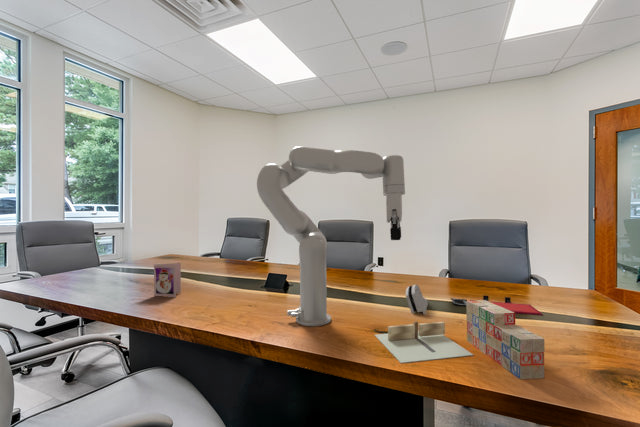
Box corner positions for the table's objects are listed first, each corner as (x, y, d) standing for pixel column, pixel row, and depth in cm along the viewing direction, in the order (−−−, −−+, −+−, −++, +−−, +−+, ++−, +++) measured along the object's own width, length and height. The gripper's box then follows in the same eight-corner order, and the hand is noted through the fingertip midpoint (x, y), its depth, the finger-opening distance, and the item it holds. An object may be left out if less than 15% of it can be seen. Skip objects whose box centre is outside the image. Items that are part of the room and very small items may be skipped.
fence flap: (420, 336, 90) (420, 324, 90) (418, 335, 91) (418, 323, 91) (444, 334, 91) (444, 322, 91) (443, 333, 92) (443, 321, 92)
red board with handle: (449, 299, 133) (455, 310, 118) (449, 292, 133) (455, 303, 118) (526, 305, 125) (542, 317, 110) (526, 298, 125) (542, 310, 110)
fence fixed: (389, 342, 88) (389, 325, 88) (387, 340, 89) (387, 323, 89) (418, 339, 90) (418, 322, 90) (416, 337, 91) (416, 321, 91)
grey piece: (425, 315, 111) (415, 289, 113) (412, 317, 113) (403, 292, 115) (428, 303, 127) (419, 280, 128) (417, 305, 128) (409, 283, 130)
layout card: (400, 363, 75) (400, 362, 75) (374, 335, 93) (374, 334, 93) (473, 355, 79) (473, 354, 79) (434, 329, 97) (434, 329, 97)
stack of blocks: (545, 379, 68) (545, 325, 68) (519, 380, 67) (519, 326, 67) (486, 340, 89) (485, 299, 89) (466, 340, 89) (465, 299, 89)
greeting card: (152, 296, 139) (152, 265, 139) (163, 292, 146) (163, 262, 146) (174, 297, 137) (174, 265, 137) (184, 293, 144) (184, 263, 144)
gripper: (385, 193, 114) (387, 237, 114) (381, 189, 98) (383, 241, 98) (405, 191, 112) (407, 236, 112) (404, 188, 96) (407, 240, 95)
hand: (396, 238), depth 105 cm, fingers open, 9 cm apart
